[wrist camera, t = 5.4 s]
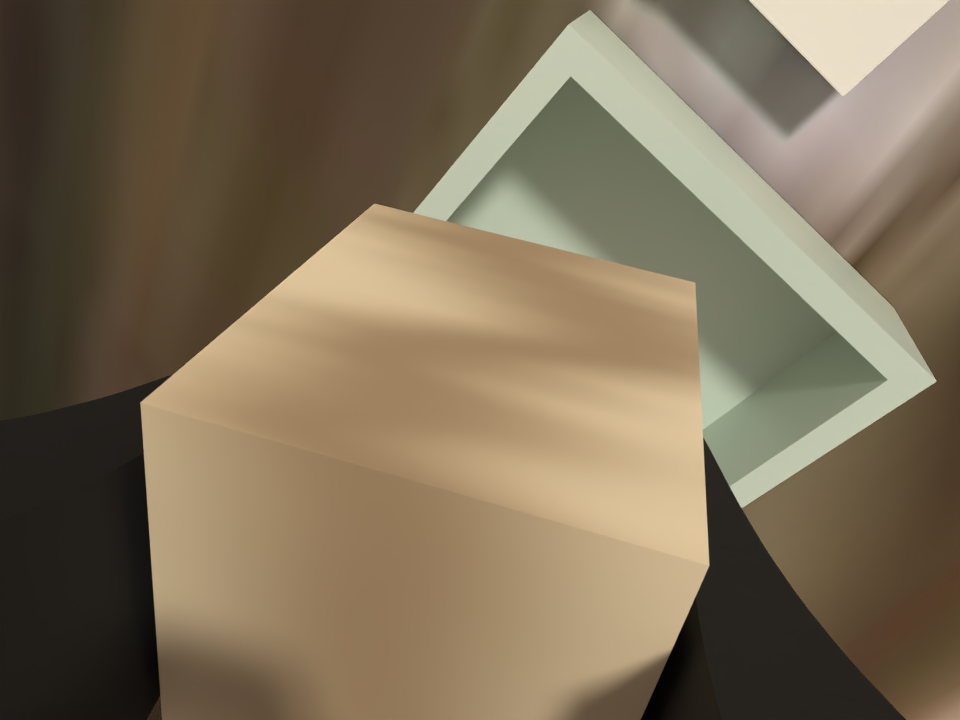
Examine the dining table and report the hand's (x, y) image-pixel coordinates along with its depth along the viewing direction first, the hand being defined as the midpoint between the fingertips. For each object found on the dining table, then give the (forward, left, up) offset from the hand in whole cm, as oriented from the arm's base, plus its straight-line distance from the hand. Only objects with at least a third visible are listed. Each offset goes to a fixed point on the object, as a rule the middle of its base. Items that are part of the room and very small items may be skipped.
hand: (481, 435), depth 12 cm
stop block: (0, 0, -1) cm, 1 cm away
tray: (-2, 0, -8) cm, 9 cm away
